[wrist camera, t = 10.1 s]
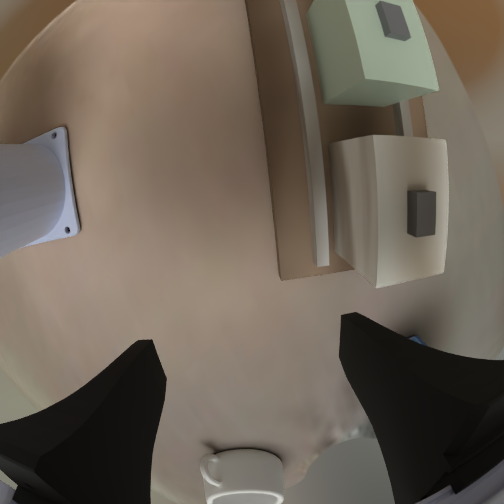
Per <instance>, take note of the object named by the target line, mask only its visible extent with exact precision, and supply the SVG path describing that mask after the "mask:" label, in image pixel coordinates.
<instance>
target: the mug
mask: <svg viewBox="0 0 504 504" xmlns="http://www.w3.org/2000/svg"><path fill="white" fill-rule="evenodd" d="M200 470H201V473H202V475H203V479H204V487H205V496H206V501H207V504H281V503H282V502H283V500H284V472H283V465H282V462H281V460H280V459H279V458H277V457H276V456H275V455H273V454H271V453H269V452H266V451H261V450H255V449H235V450H228V451H224V452H220V453H217V454H215V455H213V454H207V455H205V456H204V457H203V458H202V459H201V462H200Z"/></svg>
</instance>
